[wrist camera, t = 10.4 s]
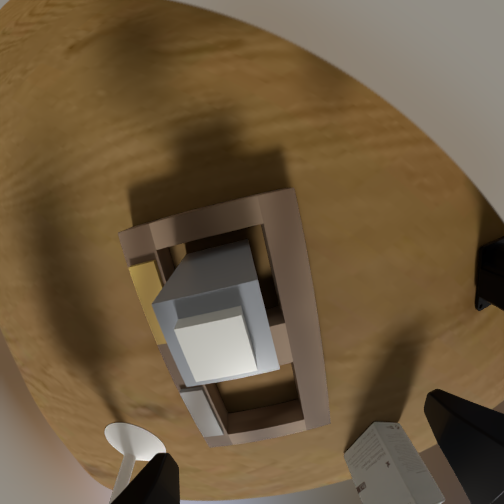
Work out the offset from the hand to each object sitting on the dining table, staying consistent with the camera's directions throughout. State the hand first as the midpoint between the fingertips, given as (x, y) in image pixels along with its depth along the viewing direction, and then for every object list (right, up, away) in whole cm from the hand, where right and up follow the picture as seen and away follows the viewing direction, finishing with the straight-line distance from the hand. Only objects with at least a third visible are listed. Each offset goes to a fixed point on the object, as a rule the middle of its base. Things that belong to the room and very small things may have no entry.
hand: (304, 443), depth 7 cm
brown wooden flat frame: (-2, 0, +12) cm, 12 cm away
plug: (-3, +5, +11) cm, 12 cm away
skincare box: (+11, -14, +16) cm, 24 cm away
